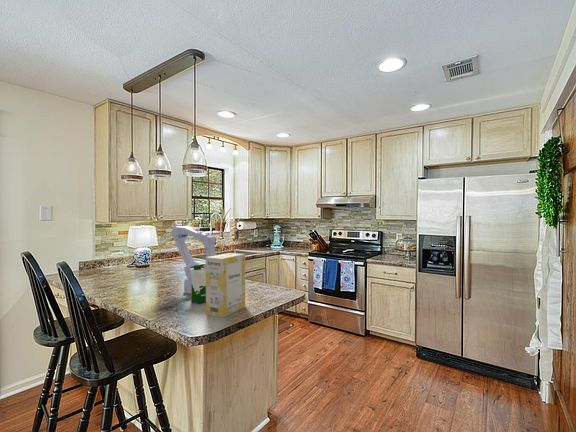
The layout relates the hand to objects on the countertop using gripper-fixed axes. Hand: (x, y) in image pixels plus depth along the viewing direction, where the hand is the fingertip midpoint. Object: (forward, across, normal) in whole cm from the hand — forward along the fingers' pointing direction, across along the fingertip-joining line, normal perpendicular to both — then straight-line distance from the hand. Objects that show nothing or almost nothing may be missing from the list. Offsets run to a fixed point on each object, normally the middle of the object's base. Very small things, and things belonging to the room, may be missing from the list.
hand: (213, 278), depth 178 cm
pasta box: (+15, -21, -19) cm, 32 cm away
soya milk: (+11, -12, +3) cm, 16 cm away
